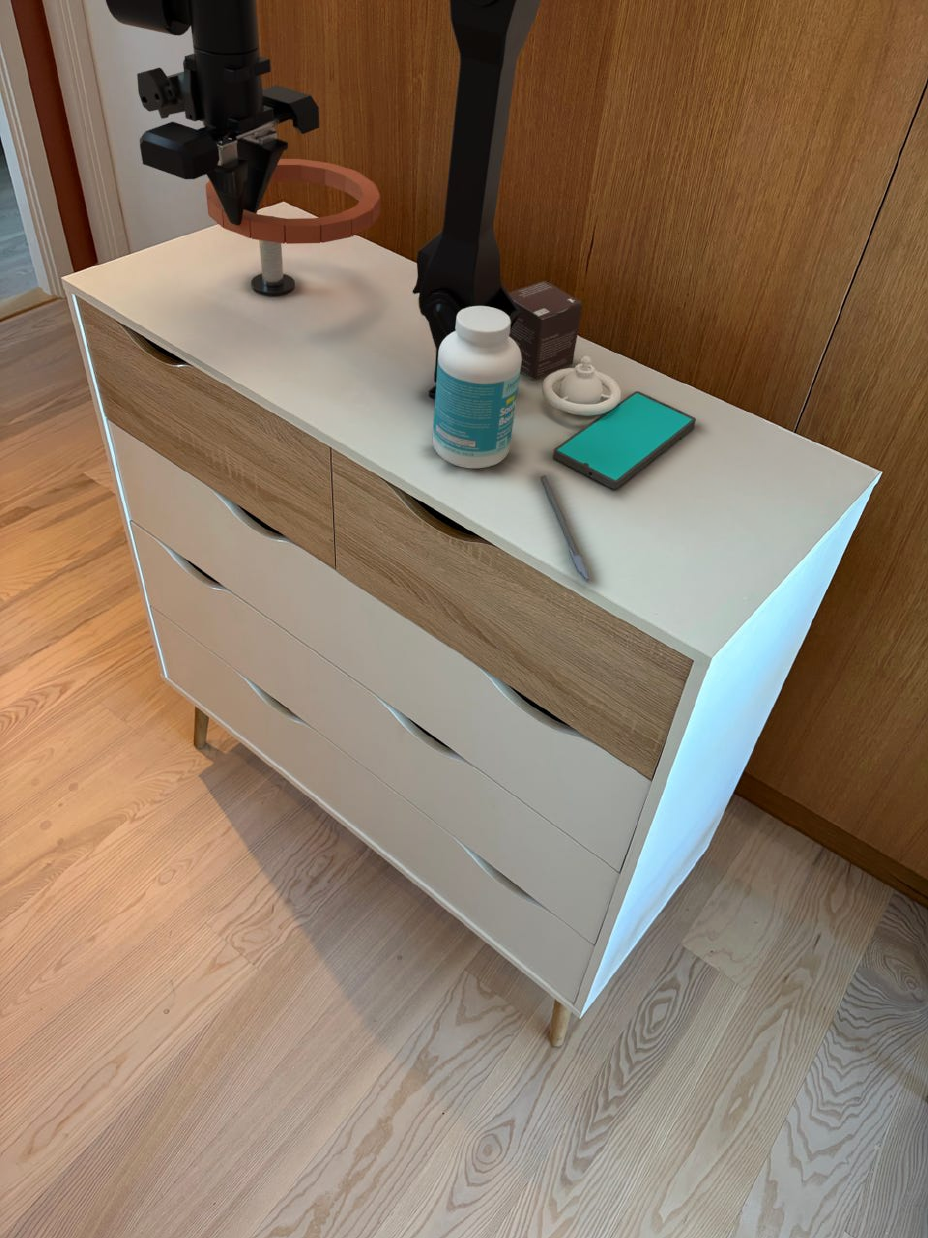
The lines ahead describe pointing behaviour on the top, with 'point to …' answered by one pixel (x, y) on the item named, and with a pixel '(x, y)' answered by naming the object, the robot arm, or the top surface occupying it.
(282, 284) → the post stand
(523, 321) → the box
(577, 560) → the pen
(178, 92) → the robot arm
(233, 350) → the top surface
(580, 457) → the smartphone
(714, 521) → the top surface
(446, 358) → the pill bottle
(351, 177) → the ring
